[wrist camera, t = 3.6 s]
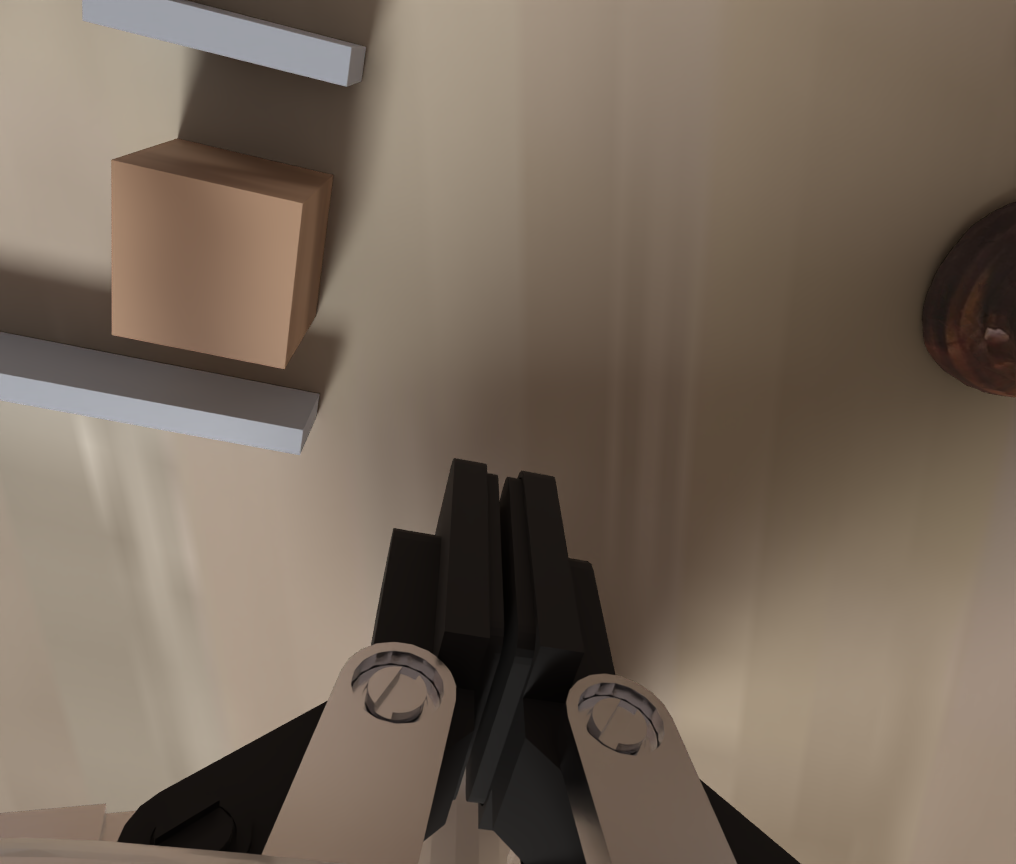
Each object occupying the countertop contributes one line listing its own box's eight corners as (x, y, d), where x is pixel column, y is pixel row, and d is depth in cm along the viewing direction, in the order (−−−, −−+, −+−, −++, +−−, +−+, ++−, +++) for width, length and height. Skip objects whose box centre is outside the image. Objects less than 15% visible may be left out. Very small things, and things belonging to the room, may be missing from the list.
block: (334, 174, 25) (302, 203, 21) (316, 315, 27) (284, 369, 23) (178, 138, 24) (111, 159, 20) (173, 285, 27) (111, 334, 22)
